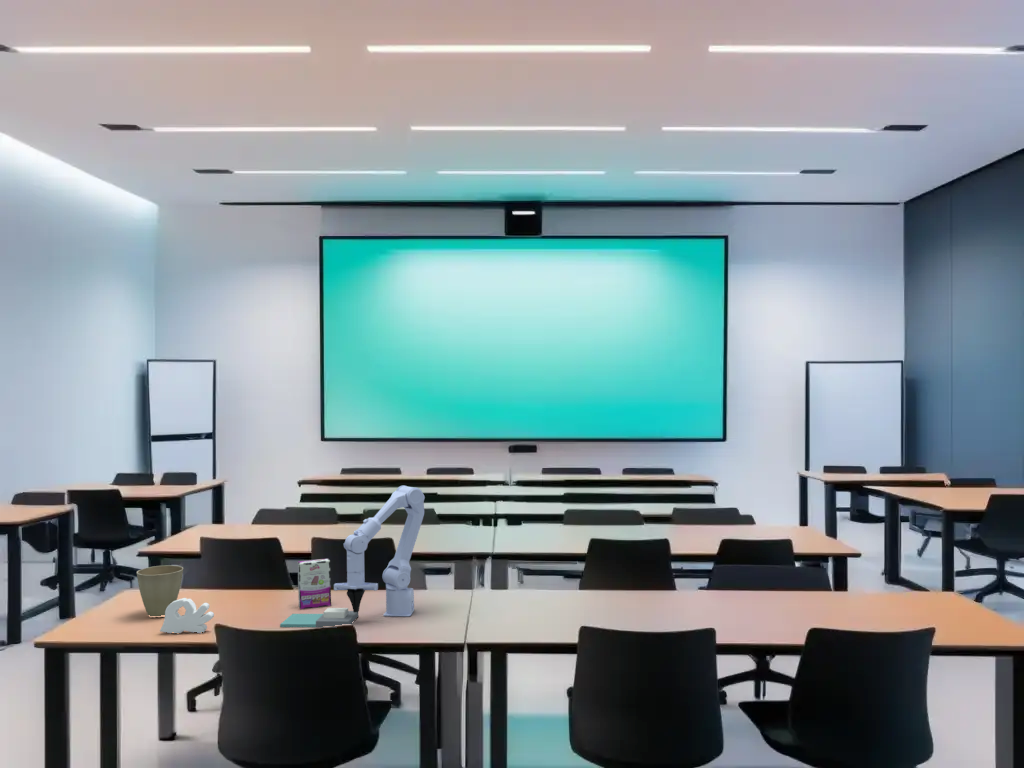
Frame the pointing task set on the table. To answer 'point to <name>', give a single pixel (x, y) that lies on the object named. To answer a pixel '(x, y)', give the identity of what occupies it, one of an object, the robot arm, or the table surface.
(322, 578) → the candy bar box
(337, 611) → the tile
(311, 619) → the mat
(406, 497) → the robot arm
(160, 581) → the plant pot
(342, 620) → the plate
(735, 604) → the table surface
